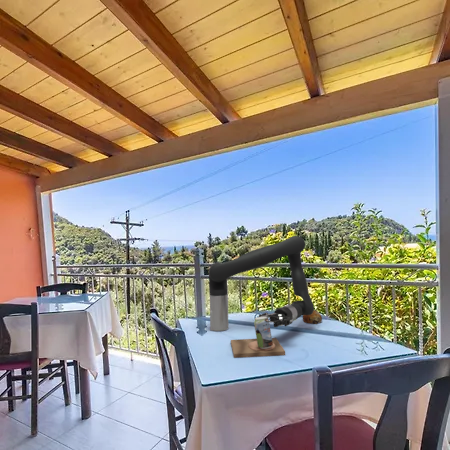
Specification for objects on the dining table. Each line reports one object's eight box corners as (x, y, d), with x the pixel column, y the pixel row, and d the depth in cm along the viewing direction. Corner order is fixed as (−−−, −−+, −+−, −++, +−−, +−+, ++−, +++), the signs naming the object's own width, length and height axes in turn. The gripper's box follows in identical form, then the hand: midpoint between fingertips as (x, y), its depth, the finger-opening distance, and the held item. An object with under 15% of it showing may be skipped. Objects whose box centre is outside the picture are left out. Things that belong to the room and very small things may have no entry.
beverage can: (270, 351, 118) (269, 320, 119) (252, 348, 121) (251, 318, 122) (274, 346, 124) (273, 316, 124) (257, 343, 127) (256, 314, 128)
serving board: (234, 357, 118) (233, 353, 118) (230, 343, 134) (230, 339, 134) (285, 355, 119) (285, 350, 119) (276, 341, 135) (275, 337, 135)
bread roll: (322, 327, 165) (322, 312, 168) (321, 324, 156) (321, 308, 159) (303, 326, 168) (303, 311, 171) (301, 322, 159) (301, 307, 163)
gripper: (272, 304, 145) (251, 311, 133) (299, 308, 136) (280, 316, 124) (272, 320, 145) (252, 328, 133) (300, 325, 136) (280, 335, 123)
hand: (265, 322), depth 128 cm, fingers open, 8 cm apart
